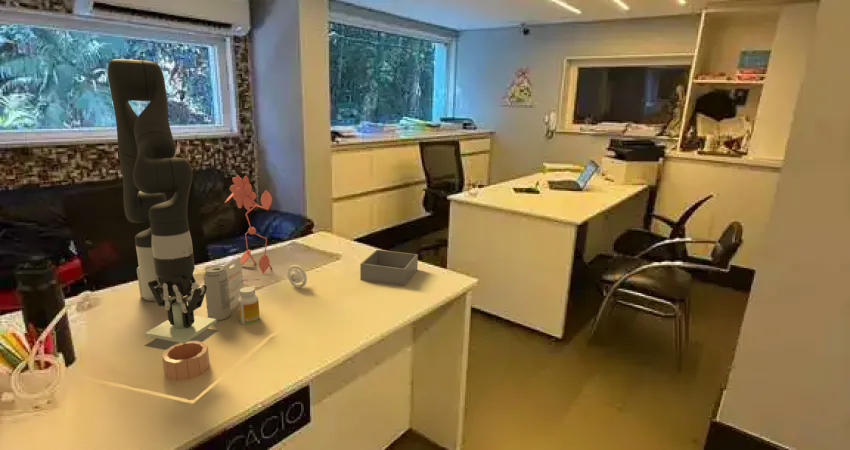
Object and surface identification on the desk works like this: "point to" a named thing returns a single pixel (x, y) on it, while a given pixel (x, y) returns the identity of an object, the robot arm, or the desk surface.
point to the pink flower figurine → (243, 197)
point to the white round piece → (297, 276)
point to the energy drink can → (217, 293)
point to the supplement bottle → (248, 306)
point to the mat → (167, 344)
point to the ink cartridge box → (234, 281)
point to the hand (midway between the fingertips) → (182, 324)
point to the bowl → (185, 360)
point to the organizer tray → (389, 274)
